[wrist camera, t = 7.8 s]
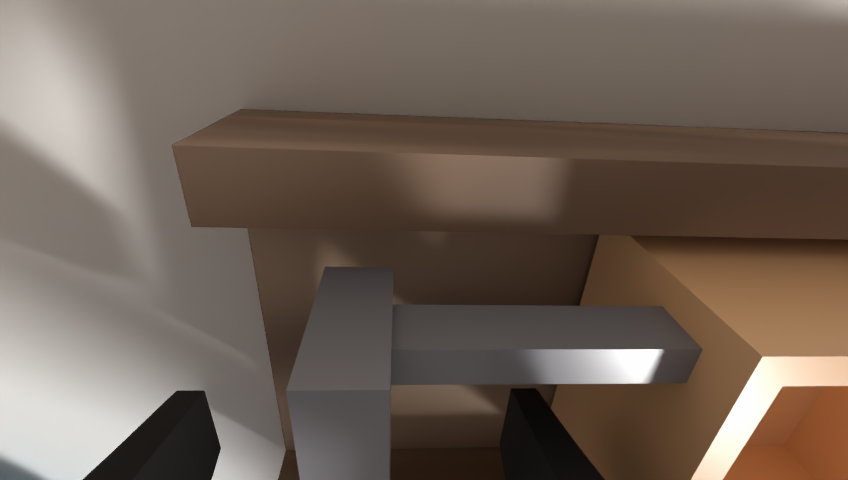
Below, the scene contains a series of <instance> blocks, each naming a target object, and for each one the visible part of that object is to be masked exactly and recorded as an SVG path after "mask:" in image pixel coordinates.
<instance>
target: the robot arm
mask: <svg viewBox="0 0 848 480" xmlns="http://www.w3.org/2000/svg"><path fill="white" fill-rule="evenodd" d="M220 449H221V447H220V443H219V440H218V436H217V433H216V429H215V426H214V422H213V419H212V416H211V412H210V409H209V405H208V402H207V398H206V395H205V391H176V392H175V393H174V394H173V395H172V396H171V397H170V398H169V399H168V400H166V401H165V402H164V403H163V404H162V405H161V406H160V407H159V408H158V409H157V410H156V411H155V412H154V413H153V414H152V415H151V416H150V417H149V418H148V419H147V420H145V421H144V422H143V423H142V424H141V425H140V426H139V427H138V428H137V429H136V430H135V431H134V432H133V433H132V434H131V435H130V436H129V437H128V438H127V439H126V440H125V441H124V442H122V443H121V444H120V445H119V446H118V447H117V448H116V449H115V450H114V451H113V452H112V453H111V454H110V455H109V456H108V457H107V458H105V459H104V460H103V461H102V462H101V463H100V464H99V465H98V466H97V467H96V468H95V469H94V470H93V471H91V472H90V473H89V474H88V475H87V476H86V477H85V478H84V479H83V480H211V479H212V476H213V473H214V469H215V466H216V463H217V459H218V456H219V453H220ZM500 450H501V456H502V462H503V468H504V474H505V480H605V479H604V478H603V477H602V475H601V474H600V473H599V472H598V470H597V469H596V468H595V466H594V465H593V464H592V463H591V461H590V460H589V459H588V458H587V456H586V455H585V454H584V453H583V451H582V450H581V449H580V447H579V446H578V445H577V443H576V442H575V441H574V439H573V438H572V437H571V435H570V434H569V433H568V431H567V430H566V429H565V427H564V426H563V425H562V423H561V422H560V420H559V419H558V418H557V416H556V415H555V414H554V412H553V411H552V409H551V408H550V407H549V405H548V404H547V402H546V401H545V399H544V398H543V397H542V395H541V394H540V392H539V391H538V390H537V389H536V388H511V391H510V395H509V400H508V405H507V410H506V415H505V420H504V424H503V429H502V434H501V439H500Z"/></svg>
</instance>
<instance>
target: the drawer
mask: <svg viewBox="0 0 848 480" xmlns="http://www.w3.org/2000/svg"><path fill="white" fill-rule="evenodd" d="M480 384H557V388H556V391H555V395H554V399H553V402H552V406H551V409H552V411H553V412H554V414H555V415H556V416H557V418H558V419H559V420H560V422H561V423H562V425H563V426H564V427H565V429H566V430H567V431H568V433H569V434H570V435H571V437H572V438H573V439H574V441H575V442H576V443H577V445H578V446H579V447H580V449H581V450H582V451H583V453H584V454H585V455H586V456H587V458H588V459H589V460H590V461H591V463H592V464H593V465H594V466H595V468H596V469H597V470H598V472H599V473H600V474H601V475H602V477H603V478H604V479H605V480H848V240H844V239H793V238H742V237H691V236H640V235H599V238H598V242H597V245H596V249H595V253H594V256H593V260H592V263H591V267H590V270H589V274H588V277H587V281H586V285H585V288H584V292H583V295H582V299H581V302H580V306H538V305H396V304H393V267H328V266H325V268H324V271H323V274H322V277H321V281H320V284H319V287H318V290H317V293H316V297H315V300H314V303H313V306H312V309H311V313H310V316H309V319H308V322H307V325H306V329H305V332H304V335H303V338H302V341H301V345H300V348H299V351H298V354H297V357H296V361H295V364H294V367H293V370H292V374H291V377H290V380H289V383H288V386H287V390H286V393H287V400H288V406H289V412H290V419H291V425H292V432H293V438H294V445H295V451H296V458H297V464H298V470H299V477H300V480H390V457H391V392H392V385H480Z"/></svg>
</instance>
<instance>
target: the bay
mask: <svg viewBox="0 0 848 480" xmlns="http://www.w3.org/2000/svg"><path fill="white" fill-rule="evenodd" d="M172 148H173V152H174V156H175V161H176V165H177V169H178V173H179V177H180V181H181V185H182V189H183V193H184V198H185V202H186V206H187V210H188V214H189V218H190V222H191V226H192V227H233V228H248V233H249V239H250V245H251V251H252V256H253V262H254V268H255V274H256V280H257V285H258V291H259V297H260V303H261V309H262V315H263V320H264V326H265V332H266V338H267V344H268V349H269V355H270V361H271V367H272V373H273V378H274V384H275V390H276V396H277V402H278V408H279V413H280V419H281V425H282V431H283V437H284V442H285V448H286V452H285V456H284V460H283V464H282V467H281V471H280V475H279V479H278V480H300V477H299V470H298V464H297V458H296V451H295V445H294V438H293V432H292V425H291V419H290V412H289V406H288V400H287V393H286V390H287V386H288V383H289V380H290V377H291V374H292V370H293V367H294V364H295V361H296V357H297V354H298V351H299V348H300V345H301V341H302V338H303V335H304V332H305V329H306V325H307V322H308V319H309V316H310V313H311V309H312V306H313V303H314V300H315V297H316V293H317V290H318V287H319V284H320V281H321V277H322V274H323V271H324V268H325V266H328V267H393V304H396V305H538V306H580V302H581V299H582V295H583V292H584V288H585V285H586V281H587V277H588V274H589V270H590V267H591V263H592V260H593V256H594V253H595V249H596V245H597V242H598V238H599V235H640V236H691V237H742V238H793V239H844V240H848V133H831V132H806V131H781V130H755V129H730V128H704V127H679V126H654V125H628V124H603V123H577V122H552V121H526V120H501V119H476V118H450V117H425V116H399V115H374V114H348V113H323V112H298V111H272V110H247V109H240V110H239V111H237V112H235V113H233V114H231V115H229V116H227V117H225V118H223V119H221V120H219V121H217V122H216V123H214V124H212V125H210V126H208V127H206V128H204V129H202V130H200V131H198V132H196V133H194V134H192V135H191V136H189V137H187V138H185V139H183V140H181V141H179V142H177V143H175V144H173V145H172ZM511 388H536V389H537V390H538V391H539V392H540V394H541V395H542V397H543V398H544V399H545V401H546V402H547V404H548V405H549V407H550V408H551V406H552V402H553V399H554V395H555V391H556V388H557V384H480V385H392V392H391V457H390V480H505V474H504V468H503V462H502V456H501V450H500V439H501V434H502V429H503V424H504V420H505V415H506V410H507V405H508V400H509V395H510V391H511Z"/></svg>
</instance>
